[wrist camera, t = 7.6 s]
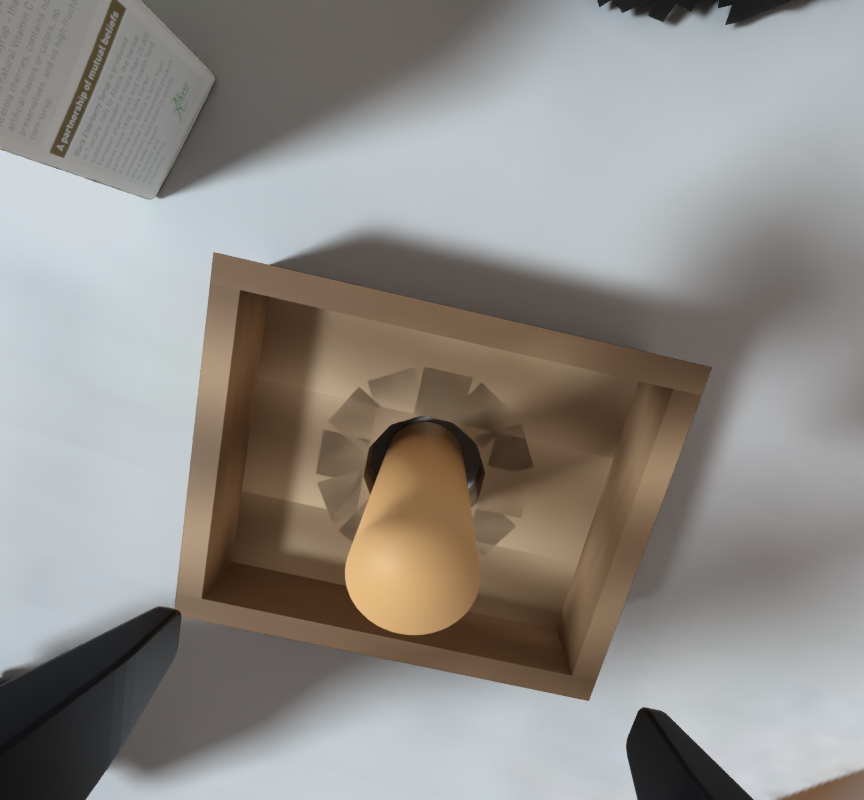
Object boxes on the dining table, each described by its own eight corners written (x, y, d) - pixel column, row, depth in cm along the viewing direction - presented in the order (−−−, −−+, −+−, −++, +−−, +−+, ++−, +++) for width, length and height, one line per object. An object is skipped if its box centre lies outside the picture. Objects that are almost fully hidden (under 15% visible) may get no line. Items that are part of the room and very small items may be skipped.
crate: (559, 621, 22) (588, 700, 18) (228, 551, 21) (173, 615, 17) (648, 352, 19) (711, 367, 15) (267, 264, 18) (213, 252, 14)
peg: (453, 501, 21) (462, 646, 12) (379, 485, 21) (334, 620, 12) (471, 431, 20) (495, 530, 11) (394, 414, 20) (358, 501, 11)
